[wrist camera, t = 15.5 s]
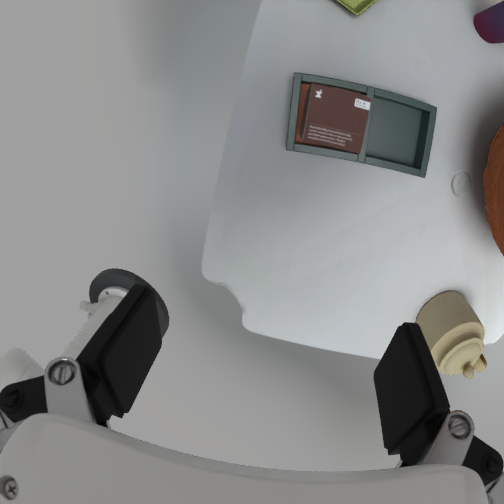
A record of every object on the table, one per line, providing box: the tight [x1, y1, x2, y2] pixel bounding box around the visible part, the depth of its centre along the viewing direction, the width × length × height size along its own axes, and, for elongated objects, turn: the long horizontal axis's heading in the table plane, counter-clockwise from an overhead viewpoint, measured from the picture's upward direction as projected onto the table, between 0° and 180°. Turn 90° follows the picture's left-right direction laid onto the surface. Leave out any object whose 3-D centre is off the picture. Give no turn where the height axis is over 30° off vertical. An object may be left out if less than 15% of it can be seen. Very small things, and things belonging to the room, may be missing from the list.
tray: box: [286, 73, 437, 178], centre depth 29 cm, size 18×9×3 cm, turn 85°
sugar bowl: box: [416, 291, 487, 379], centre depth 35 cm, size 15×11×15 cm
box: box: [300, 83, 372, 154], centre depth 27 cm, size 6×6×7 cm
